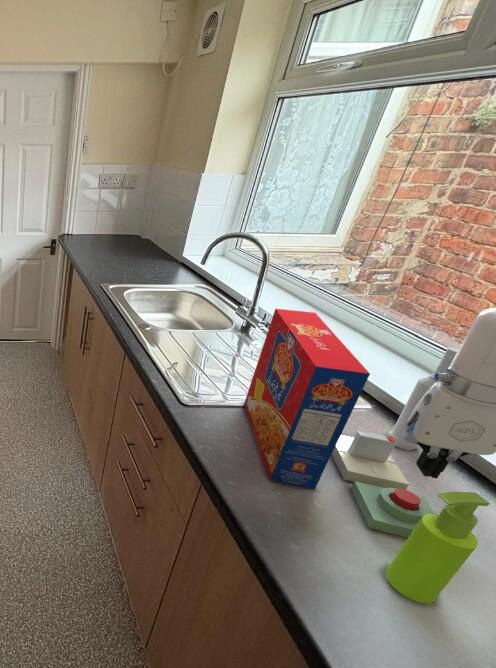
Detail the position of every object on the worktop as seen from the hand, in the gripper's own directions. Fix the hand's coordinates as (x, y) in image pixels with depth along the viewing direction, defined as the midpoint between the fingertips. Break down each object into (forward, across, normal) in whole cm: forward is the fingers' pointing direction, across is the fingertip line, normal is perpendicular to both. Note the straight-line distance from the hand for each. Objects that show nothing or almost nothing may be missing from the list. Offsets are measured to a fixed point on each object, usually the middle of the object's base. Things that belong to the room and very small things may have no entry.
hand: (426, 471), depth 74 cm
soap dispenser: (+12, -5, -16) cm, 20 cm away
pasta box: (+11, -18, +16) cm, 26 cm away
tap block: (+12, -2, +14) cm, 18 cm away
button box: (+12, -1, 0) cm, 12 cm away
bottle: (+12, +9, +26) cm, 30 cm away
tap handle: (+9, -2, +14) cm, 17 cm away
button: (+8, -1, 0) cm, 8 cm away
